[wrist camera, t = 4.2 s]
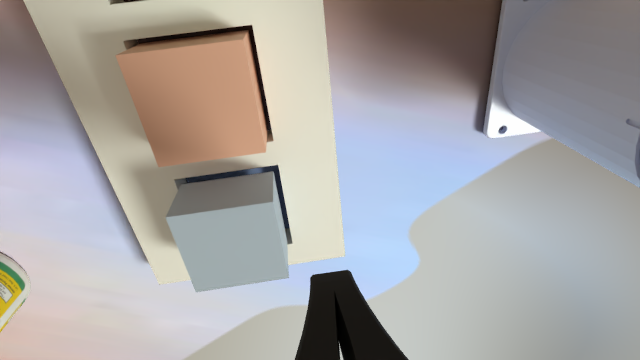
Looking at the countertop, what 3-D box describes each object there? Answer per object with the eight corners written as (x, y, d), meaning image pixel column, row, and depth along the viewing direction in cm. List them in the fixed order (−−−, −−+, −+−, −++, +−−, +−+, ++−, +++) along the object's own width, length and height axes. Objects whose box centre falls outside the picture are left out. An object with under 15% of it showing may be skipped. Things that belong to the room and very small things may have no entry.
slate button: (273, 171, 19) (273, 201, 16) (287, 241, 21) (288, 277, 19) (180, 184, 19) (165, 217, 16) (205, 253, 21) (195, 292, 19)
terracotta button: (248, 29, 16) (243, 39, 14) (267, 128, 19) (265, 152, 16) (141, 43, 16) (115, 55, 14) (174, 141, 19) (158, 167, 16)
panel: (295, -257, 12) (298, -287, 11) (341, 240, 24) (345, 256, 23) (-55, -226, 12) (-98, -253, 10) (166, 266, 24) (159, 284, 22)
